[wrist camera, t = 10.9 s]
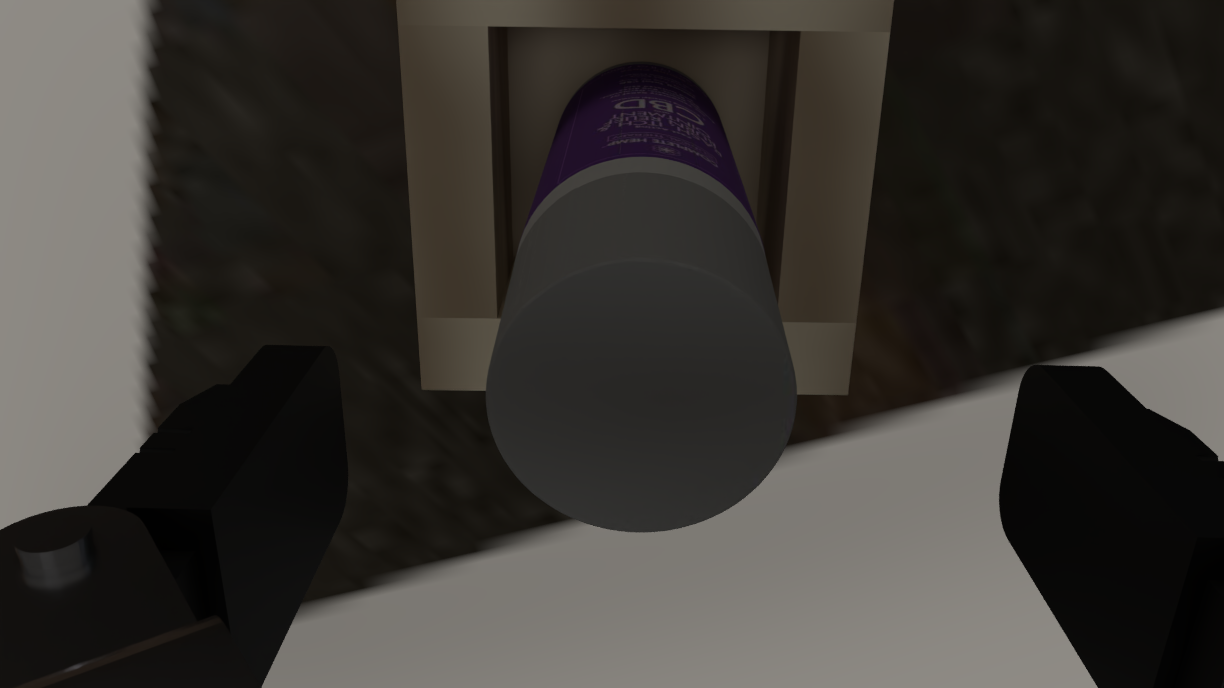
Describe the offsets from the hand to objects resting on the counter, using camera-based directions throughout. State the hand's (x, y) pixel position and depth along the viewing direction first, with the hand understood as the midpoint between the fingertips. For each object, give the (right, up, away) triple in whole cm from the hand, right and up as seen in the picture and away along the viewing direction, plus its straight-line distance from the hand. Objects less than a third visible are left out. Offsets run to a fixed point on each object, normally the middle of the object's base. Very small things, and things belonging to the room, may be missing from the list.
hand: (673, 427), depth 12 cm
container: (0, +7, +16) cm, 18 cm away
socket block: (0, +7, +17) cm, 18 cm away
